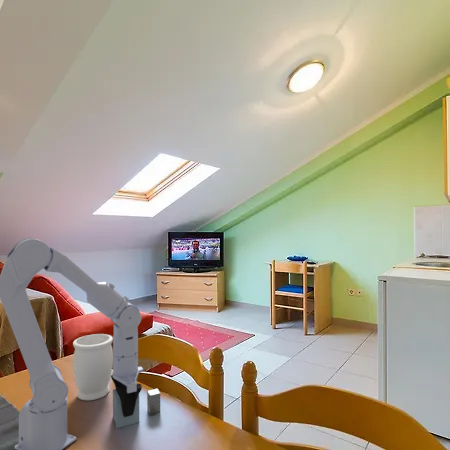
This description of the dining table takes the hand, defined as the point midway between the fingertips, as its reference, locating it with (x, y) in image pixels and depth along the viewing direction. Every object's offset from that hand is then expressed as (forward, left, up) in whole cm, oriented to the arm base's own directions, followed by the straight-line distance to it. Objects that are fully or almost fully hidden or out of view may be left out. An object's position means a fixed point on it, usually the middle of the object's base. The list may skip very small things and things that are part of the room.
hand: (125, 409), depth 80 cm
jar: (-17, +5, -3) cm, 18 cm away
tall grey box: (0, 0, -2) cm, 2 cm away
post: (+4, +5, -2) cm, 7 cm away
